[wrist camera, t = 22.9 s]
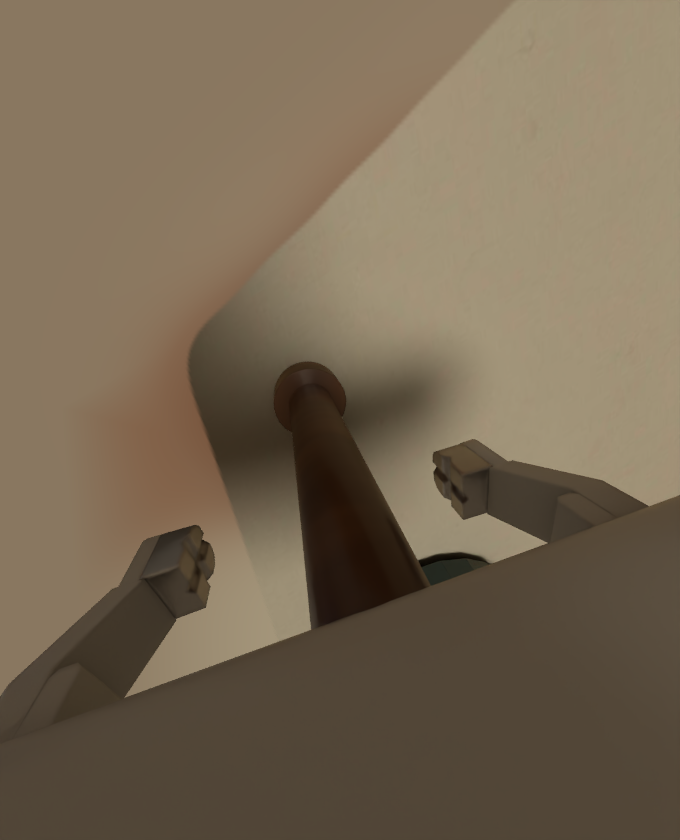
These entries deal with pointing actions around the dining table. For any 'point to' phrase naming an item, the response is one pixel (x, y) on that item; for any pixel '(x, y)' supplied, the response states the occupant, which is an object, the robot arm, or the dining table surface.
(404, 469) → the dining table surface
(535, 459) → the dining table surface
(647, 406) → the dining table surface
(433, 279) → the dining table surface
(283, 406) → the stirrer
